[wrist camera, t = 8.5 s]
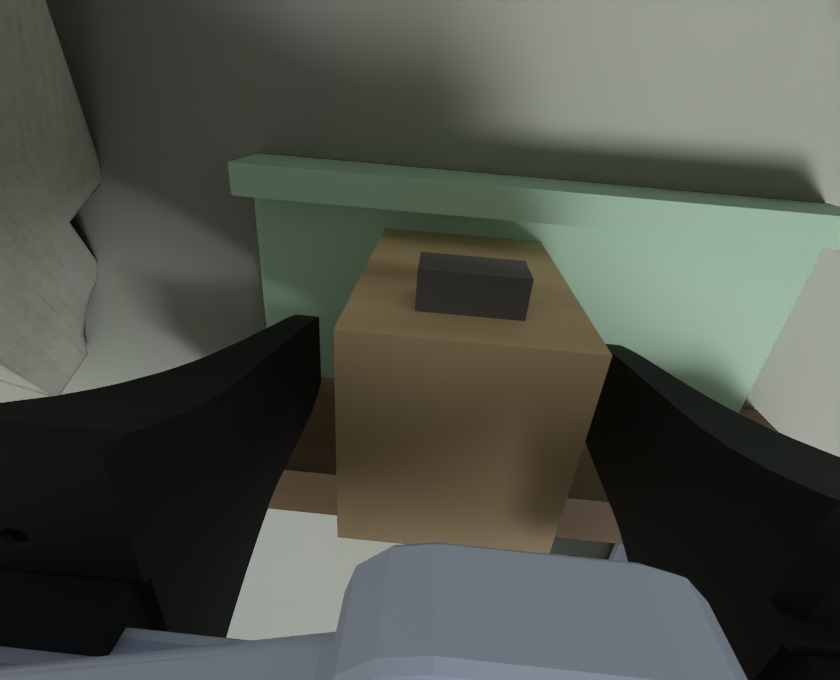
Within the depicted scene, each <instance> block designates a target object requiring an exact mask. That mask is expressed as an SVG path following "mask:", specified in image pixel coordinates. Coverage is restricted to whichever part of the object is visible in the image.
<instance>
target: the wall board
mask: <svg viewBox="0 0 840 680" xmlns="http://www.w3.org/2000/svg"><path fill="white" fill-rule="evenodd" d="M739 414H741V415H743V416H745V417H747V418H749V419H751V420H753V421H755V422H757V423H759V424H761V425H764V426H766V427H768V428H770V429H772V430H774V431H776V432H778V431H777V430H776V429H775V428H774V427H773V426H772V425H771V424H770V423H769V422H768V421H767V420H766V419H765V418H764V417H763V416H762V415H761V414H760V413H759V412H758V411H757V410H756V409H746V408H741V410H740V412H739ZM268 508H270V509H280V510H290V511H300V512H310V513H320V514H330V515H337V478H336V431H335V383H334V378H324V377H321V385H320V389H319V392H318V395H317V399H316V402H315V405H314V408H313V411H312V414H311V416H310V418H309V420H308V422H307V424H306V426H305V428H304V430H303V432H302V434H301V437H300V439H299V441H298V443H297V445H296V447H295V449H294V451H293V453H292V455H291V457H290V459H289V461H288V463H287V465H286V467H285V469H284V471H283V473H282V475H281V477H280V479H279V481H278V484H277V486H276V488H275V491H274V493H273V495H272V498H271V501H270V504H269V506H268ZM555 537H556V538H566V539H575V540H585V541H595V542H605V543H615V544H623V542H622V538H621V534H620V531H619V528H618V525H617V522H616V519H615V516H614V513H613V511H612V508H611V506H610V503H609V501H608V498H607V496H606V493H605V491H604V488H603V486H602V483H601V481H600V478H599V476H598V473H597V471H596V468H595V466H594V463H593V461H592V458H591V455H590V453H589V450H588V448H587V445H586V442H585V444H584V447H583V450H582V453H581V456H580V459H579V462H578V466H577V469H576V472H575V475H574V478H573V481H572V484H571V488H570V491H569V494H568V497H567V500H566V503H565V506H564V510H563V513H562V516H561V519H560V522H559V525H558V528H557V532H556V535H555Z"/></svg>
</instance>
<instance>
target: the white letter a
mask: <svg viewBox="0 0 840 680" xmlns="http://www.w3.org/2000/svg"><path fill="white" fill-rule="evenodd" d="M100 167H101V165H100V162H99V159H98V156H97V153H96V150H95V147H94V144H93V141H92V138H91V135H90V132H89V129H88V126H87V123H86V120H85V117H84V114H83V111H82V108H81V105H80V102H79V99H78V96H77V93H76V90H75V87H74V84H73V81H72V78H71V75H70V72H69V69H68V66H67V63H66V60H65V57H64V54H63V51H62V48H61V45H60V42H59V39H58V36H57V33H56V30H55V27H54V24H53V21H52V18H51V15H50V12H49V9H48V6H47V3H46V0H0V381H3V382H6V383H9V384H12V385H15V386H19V387H22V388H25V389H28V390H31V391H35V392H38V393H41V394H44V395H47V396H57V395H60V394H61V393H62V391H63V390H64V388H65V387H66V385H67V384H68V382H69V381H70V379H71V378H72V376H73V375H74V373H75V372H76V371H77V369H78V368H79V366H80V365H81V363H82V362H83V360H84V359H85V357H86V356H87V354H88V351H87V347H86V343H85V339H84V335H83V332H84V324H85V317H86V309H87V304H88V302H89V299H90V296H91V293H92V291H93V288H94V285H95V283H96V280H97V275H98V263H97V261H96V260H95V258H94V257H93V255H92V254H91V253H90V251H89V250H88V248H87V247H86V245H85V244H84V242H83V241H82V240H81V238H80V237H79V235H78V234H77V232H76V231H75V229H74V228H73V227H72V225H71V224H70V221H71V220H72V218H73V217H74V216H75V215H76V214H77V212H78V211H79V210H80V209H81V207H82V206H83V205H84V204H85V203H86V201H87V200H88V199H89V198H90V196H91V195H92V194H93V193H94V191H95V190H96V189H97V188H98V187H99V185H100Z"/></svg>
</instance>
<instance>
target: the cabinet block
mask: <svg viewBox="0 0 840 680" xmlns="http://www.w3.org/2000/svg"><path fill="white" fill-rule="evenodd" d="M333 335H334V383H335V431H336V478H337V526H338V537H341V538H351V539H361V540H371V541H381V542H391V543H401V544H419V543H432V542H440V543H450V544H460V545H470V546H479V547H489V548H499V549H508V550H518V551H528V552H537V553H547V554H550V551H551V547H552V544H553V541H554V538H555V535H556V532H557V528H558V525H559V522H560V519H561V516H562V513H563V510H564V506H565V503H566V500H567V497H568V494H569V491H570V488H571V484H572V481H573V478H574V475H575V472H576V469H577V466H578V462H579V459H580V456H581V453H582V450H583V447H584V444H585V440H586V437H587V434H588V431H589V428H590V425H591V422H592V418H593V415H594V412H595V409H596V406H597V403H598V400H599V396H600V393H601V390H602V387H603V384H604V381H605V377H606V374H607V371H608V368H609V365H610V362H611V359H612V354H611V352H610V351H609V349H608V348H607V346H606V344H605V343H604V341H603V340H602V338H601V336H600V335H599V333H598V332H597V330H596V328H595V327H594V325H593V324H592V322H591V320H590V319H589V317H588V316H587V314H586V313H585V311H584V309H583V308H582V306H581V305H580V303H579V301H578V300H577V298H576V297H575V295H574V293H573V292H572V290H571V289H570V287H569V285H568V284H567V282H566V281H565V279H564V277H563V276H562V274H561V273H560V271H559V270H558V268H557V266H556V265H555V263H554V262H553V260H552V258H551V257H550V255H549V254H548V252H547V250H546V249H545V247H544V246H543V244H542V242H538V241H526V240H515V239H503V238H492V237H481V236H469V235H458V234H446V233H435V232H424V231H412V230H401V229H389V228H385V229H384V231H383V233H382V235H381V237H380V239H379V241H378V243H377V245H376V247H375V249H374V251H373V252H372V254H371V256H370V258H369V260H368V262H367V264H366V266H365V268H364V270H363V272H362V274H361V276H360V278H359V280H358V282H357V284H356V286H355V288H354V290H353V292H352V294H351V296H350V298H349V300H348V302H347V304H346V306H345V308H344V310H343V312H342V314H341V316H340V318H339V320H338V322H337V324H336V326H335V328H334V330H333Z"/></svg>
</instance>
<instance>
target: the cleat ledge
mask: <svg viewBox="0 0 840 680" xmlns="http://www.w3.org/2000/svg"><path fill="white" fill-rule="evenodd" d="M227 164H228V172H229V181H230V189H231V196H242V197H253V198H254V206H255V216H256V227H257V237H258V247H259V258H260V268H261V278H262V289H263V299H264V309H265V320H266V328H268V327H270V326H272V325H274V324H276V323H278V322H280V321H282V320H284V319H286V318H288V317H290V316H293V315H307V316H317V317H319V329H320V359H321V377H324V378H334V335H333V330H334V328H335V326H336V324H337V322H338V320H339V318H340V316H341V314H342V312H343V310H344V308H345V306H346V304H347V302H348V300H349V298H350V296H351V294H352V292H353V290H354V288H355V286H356V284H357V282H358V280H359V278H360V276H361V274H362V272H363V270H364V268H365V266H366V264H367V262H368V260H369V258H370V256H371V254H372V252H373V251H374V249H375V247H376V245H377V243H378V241H379V239H380V237H381V235H382V233H383V231H384V229H385V228H389V229H401V230H412V231H424V232H435V233H446V234H458V235H469V236H481V237H492V238H503V239H515V240H526V241H538V242H542V244H543V246H544V247H545V249H546V250H547V252H548V254H549V255H550V257H551V258H552V260H553V262H554V263H555V265H556V266H557V268H558V270H559V271H560V273H561V274H562V276H563V277H564V279H565V281H566V282H567V284H568V285H569V287H570V289H571V290H572V292H573V293H574V295H575V297H576V298H577V300H578V301H579V303H580V305H581V306H582V308H583V309H584V311H585V313H586V314H587V316H588V317H589V319H590V320H591V322H592V324H593V325H594V327H595V328H596V330H597V332H598V333H599V335H600V336H601V338H602V340H603V341H604V343H605V344H614V345H621V346H624V347H626V348H628V349H630V350H632V351H634V352H635V353H637V354H639V355H640V356H642V357H644V358H645V359H647V360H649V361H650V362H652V363H654V364H655V365H657V366H658V367H660V368H662V369H663V370H665V371H666V372H668V373H669V374H671V375H673V376H674V377H676V378H677V379H679V380H681V381H682V382H684V383H686V384H687V385H689V386H691V387H692V388H694V389H696V390H697V391H699V392H701V393H702V394H704V395H706V396H708V397H709V398H711V399H713V400H715V401H717V402H718V403H720V404H722V405H724V406H725V407H727V408H729V409H731V410H733V411H735V412H737V413H739V412H740V410H741V408H742V406H743V404H744V402H745V400H746V398H747V396H748V394H749V392H750V390H751V389H752V387H753V385H754V383H755V381H756V379H757V377H758V375H759V373H760V371H761V369H762V367H763V365H764V363H765V361H766V359H767V357H768V355H769V353H770V351H771V349H772V347H773V345H774V344H775V342H776V340H777V338H778V336H779V334H780V332H781V330H782V328H783V326H784V324H785V322H786V320H787V318H788V316H789V314H790V312H791V310H792V308H793V306H794V304H795V302H796V300H797V298H798V297H799V295H800V293H801V291H802V289H803V287H804V285H805V283H806V281H807V279H808V277H809V275H810V273H811V271H812V269H813V267H814V265H815V263H816V261H817V259H818V257H819V255H820V253H821V251H822V250H823V249H832V250H840V207H838V206H835V205H831V204H828V203H817V202H806V201H795V200H783V199H772V198H760V197H749V196H738V195H726V194H715V193H704V192H692V191H681V190H670V189H658V188H647V187H636V186H624V185H613V184H602V183H590V182H579V181H568V180H556V179H545V178H533V177H522V176H511V175H499V174H488V173H477V172H465V171H454V170H443V169H431V168H420V167H409V166H397V165H386V164H375V163H363V162H352V161H341V160H329V159H318V158H306V157H295V156H284V155H272V154H261V153H257V154H253V155H250V156H246V157H243V158H239V159H236V160H232V161H229V162H227Z"/></svg>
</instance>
